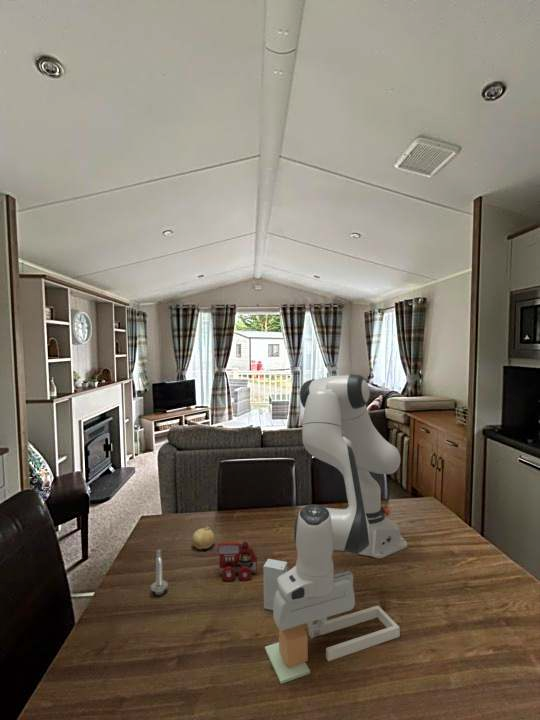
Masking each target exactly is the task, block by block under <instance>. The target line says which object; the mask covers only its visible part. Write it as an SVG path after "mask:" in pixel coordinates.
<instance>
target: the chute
mask: <svg viewBox="0 0 540 720" xmlns="http://www.w3.org/2000/svg"><path fill="white" fill-rule="evenodd" d="M376 618H377V619H378V620H379V621H380V622H381V623H382V624H383V625H384V626H385V628H383V629H380V630H377V631H374V632H370V633H367V634H365V635H360V636H359V637H355V638H352V639H350V640H349V639H348V640H345V641H343V642H340V643H337V644H334V645H331V646H328V647H326V648H325V658H326V660H327V662H331V661H333V660H336V659H339V658H342V657H344V656H345V657H346V656H347V655H351V654H354V653H356V652H359V651H362V650H365V649H368V648H371V647H375V646H376V645H380V644H383V643H385V642H388V641H391V640H394V639H397V638H400V635H401V633H400V632H401V630H400V629H401V628H400V626H399V625H398V624H397V623H396V622H395V621H394V620H393V619H392V618H391V617H390V616H389V615H388V613H386V611H384V610H383V609H382V607H381V606H379V605H376V606H371V607H368V608H365V609H361V610H358V611H355V612H352V613H348V614H344V615H341V616H338V617H335V618H331V619H329V620H328V619H327V621H326V623H325V625H324V627H323V628H322V630H323V634H322V635H319V636H316V637H315V638H317V637H320V636H323V635H325V634H329V633H332V632H335V631H338V630H341V629H344V628H347V627H351V626H354V625H357V624H360V623H363V622H367V621H370V620H373V619H376ZM315 624H316V623H315ZM315 624H314V623H313V625H315Z"/></svg>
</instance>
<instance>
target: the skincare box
mask: <svg viewBox="0 0 540 720" xmlns="http://www.w3.org/2000/svg"><path fill="white" fill-rule="evenodd" d="M262 569H263V573H262V574H263V609H266V610H270V611H273V608H274V598H275V594H276V592H277V590H278V589H279V587H278V585H277V578H278V577H279V576H281V575H282V574H284V573H286V572H287V571H289V570H288V561H283V560H277V559H271V558H267V560H266V561H265V563H264V565H263V567H262Z"/></svg>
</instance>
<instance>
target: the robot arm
mask: <svg viewBox="0 0 540 720" xmlns="http://www.w3.org/2000/svg"><path fill="white" fill-rule="evenodd" d="M299 398H300V399H299V400H300V403H301V406H302V407H303V408H304V409H303V417H302V427H301V431H302V433H301V435H302V444H303V447H304V448H305V450H306V451H307V452H308V453H309V454H310V455H312V456H313V457H314V458H315V459H317V460H319V461H322V462H323V463H326V464H328V465H330V466H332V467H334V468H335V469H337V470H338V471H339V472H340V473H341V475H342V477H343V479H344V486H345V492H346V499H347V504H348V505H347V507H346V508H332V507H326V506H323V505H320V504H308V505H305V506H303V507H302V508H301V509H300V510H299V512H298V513H297V515H296V516H295V519H294V541H295V550H296V552H297V556H298V558H297V557H296V559H297V562H296V561H295V565H294V566H293V567H292V568H291V569H289V570H288V571H287V572H286V573H284V574H282V575H281V576H279V577H278V578H277V585H278V587H279V589H278V590H277V592H276V594H275V598H274V608H273V610H272V612H273V621H274V623H275V625H276V626H277V628H278V630H279V629H280V630H286V629H289V628H292V627H296V626H299V625H301V626H302V625H305V624H306V626H307V630H308V631H307V632H308V633H307V634H308V636H309V637H310V639H312V638H317V637H320V636H323V635H324V634H323V630H322V628H323V627H324V625H325V623H326V621H328V618H330V617H333V616H335V615H339V614H342V613H346V612H349V611H352V610H353V609H354V607H355V605H356V599H355V598H356V597H355V591H354V590H355V589H354V586H353V585H354V575H353V573H352V571H349V570H347V569H343V570H340V571H335V569H334V568H335V567H334V564H335V563H334V561H333V553H334V550H337V551H344V552H346V553H352V554H356V555H362V556H370V557H373V558H376V559H383V558H385V557H387V556H388V557H389V556H390V555H392V554H395V553H397V552H399V551H402V550H403V549H404V550H405V549H407V548H408V542H407V540H406V538H404V537H402V536H401V532H400V529H399V527H398V526H397V525H396V523H394V522H393V521H392V520H390V519H389V518H388V517H386V516H390V514H391V512H392V511H391V510H390V509H388V508H387V507H385V508H384V506H382V505H381V503H382V501H381V500H382V499H381V498H382V497H381V493H382V491H381V487H380V484H379V483H378V482H377V480H375V479H374V478H373V476H372V475H371V473H374V474H380V475H391V474H392V475H393V474H394V473H396V472H397V470H398V469H399V467H400V464H401V454H400V452H399V449H398V448H397V447H396V446H395V445H393V444H392V443H390V442H389V441H387V440H386V439H385V437H383V435H381V434H380V432H379V431H378V429H377V428H376V427H375V425H374V424H373V422H372V420H371V416H370V414H369V411H368V406H367V404H368V403H369V399H370V388H369V384H368V381H367V379H366V378H365V377H363V376H362V375H360V374H355V373H354V374H352V373H351V374H350V375H347V374H346V375H345V374H343V375H342V374H341V375H331V376H327V377H321V378H317V379H315V378H313V379H310V380H307V381H305V382H303V384H302V386H301V387H300V390H299ZM370 472H371V473H370ZM385 515H386V516H385ZM315 621H316V623H315V625H314V622H315ZM322 634H323V635H322ZM319 635H320V636H319ZM316 636H317V637H316Z"/></svg>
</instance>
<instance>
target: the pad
mask: <svg viewBox="0 0 540 720" xmlns="http://www.w3.org/2000/svg"><path fill="white" fill-rule="evenodd" d="M264 651H266V654H267V657H268V658H269V660H270V663H271V665H272V668H273V670H274V671H275V674H276V676H277V678H278V680H279V683H280V685H281V684H285V683H287V682H290V681H293V680H295V679H296V680H297V679H299V678H302V677H304V676H307V675H310V674H312V672H311V670H310V669H309V667H308V664H307V662H303V663H300V664H297V665H294V666H291V667H288V668H287V666H286V664H285V662H284V660H283V658H282V656H281V654H280V652H279V641H278V642H275V643H273V644H269V645H266V646H264Z"/></svg>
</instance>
